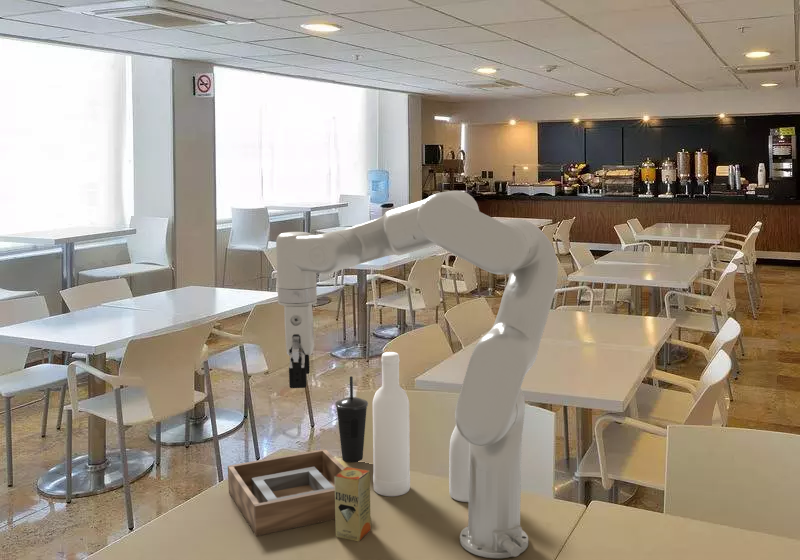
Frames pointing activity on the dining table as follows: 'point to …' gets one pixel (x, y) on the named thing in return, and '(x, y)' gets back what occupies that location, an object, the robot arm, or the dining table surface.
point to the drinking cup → (352, 425)
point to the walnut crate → (285, 490)
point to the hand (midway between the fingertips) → (299, 380)
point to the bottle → (391, 432)
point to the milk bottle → (459, 467)
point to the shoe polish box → (352, 503)
